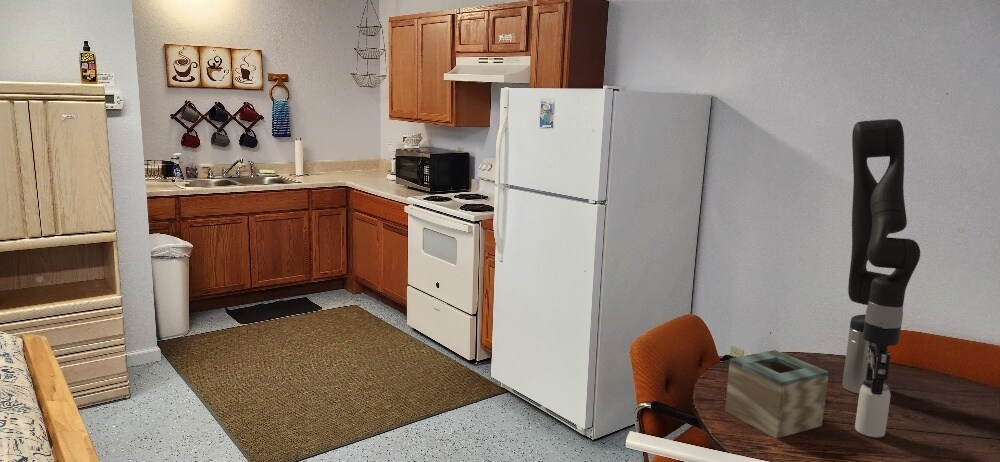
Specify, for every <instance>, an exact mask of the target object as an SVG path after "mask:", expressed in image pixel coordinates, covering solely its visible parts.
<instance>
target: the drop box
mask: <svg viewBox="0 0 1000 462" xmlns="http://www.w3.org/2000/svg"><path fill="white" fill-rule="evenodd" d="M829 374H830V372H829V370H826V369H823V368H821V367H818V366H816V365H813V364H811V363H809V362H806V361H804V360H801V359H798V358H796V357H793V356H791V355H788V354H786V353H785V352H784V353H783V352H781V351H778V350H777V349H774V350H768V351H762V352H757V353H752V354H746V355H741V356H738V357H732V358H729V366H728V375H727V376H728V377H727V384H726V385H727V387H726V395H725V397H726V398H725V407H724V412H726V413H728V414H729V415H731V416H734V417H735V418H737V419H739V420H741V421H743V422H745V424H748V425H750V426H752V427H754V428H756V429H757V430H759V431H761V432H763V433H765V434H767V435H768V436H770V437H772V438H774V439H776V440H777V439H780V438H783V437H788V436H790V435H794V434H797V433H800V432H805V431H809V430H812V429H813V430H814V429H816V428H820V427H823V421H824V420H823V419H824V414H825V413H824V412H825V404H826V396H827V390H828V381H829Z"/></svg>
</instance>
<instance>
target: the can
mask: <svg viewBox="0 0 1000 462" xmlns="http://www.w3.org/2000/svg"><path fill="white" fill-rule="evenodd" d="M871 387H872V381H864V382H863V385H862V386H861V388H860V393H859V394H858V401H857V410H856V415H855V416H856V417H855V422H854V423H855V424H854V429H855V430H856V432H857V433H859V435H860V434H861V435H863V436H864V437H869V438H873V439H874V438H875V439H879V438H880V439H881V438H882V437H884V436H885V435H886V429H887V425H888V424H887V423H888V418H889V409H890V404H891V403H890V402H891V390H890V386H889V385H888V384H886V383H884V384H883V390H882V394H881V395H876V394H872V393H871Z"/></svg>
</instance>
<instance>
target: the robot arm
mask: <svg viewBox="0 0 1000 462" xmlns="http://www.w3.org/2000/svg"><path fill="white" fill-rule="evenodd" d="M851 135H852V138H851V143H852V144H851V146H852V168H853V171H852V172H853V173H852V175H853V189H852V190H853V192H852V207H851V208H852V209H851V256H850V257H851V258H850V267H849V275H848V284H847V287H848V288H847V289H848V290H847V291H848V292H847V293H848V298H849V299H850V301H851V302H853V303H856V304H860V305H865V306H866V309H865V310H866V311H865V314H857V315H854V316H852V317H851V319H850V322H849V323H850V324H849V330H848V331H849V332H848V339H847V347H846V353H845V363H844V368H843V376H842V388H844V389H845V390H847V391H849V392H851V393H854V394H856V395H857V394H858V395H859V393H860V388H861V386H862V385H863V382H864V381H872V387H871V393H872V394H876V395H881V394H882V390H883V384H885V383H884V382H885V381H887V380H888V379H889V377H888V376H889V370H890V369H889V368H890V361H891V355H890V351H888V350H889V349H888V347H891V346H892V347H893V346H894V347H895V346H897V345H899V343H900V336H901V330H902V325H903V318H904V317H903V316H904V302H905V295H906V290H907V286H908V285H909V282H910V280H911V278H912V276H913V273H914V271H915V270H916V268H917V265H918V263H919V262H920V258H921V248H920V246H919V244H918V243H917V241H915V239H911V238H902V237H901V238H900V237H888V236H889V234H895V233H899V232H901V231H904V230H905V229H906V228H907V225H908V223H907V221H908V220H907V218H908V217H907V213H906V203H905V193H904V192H905V191H904V190H905V189H904V181H905V132H904V128H903V124H902V121H900V120H899V119H896V118H889V119H888V118H887V119H873V120H862V121H857V122H856V123H855V124H854V126H853V128H852V134H851ZM882 157H883V158H884V157H889V161H888V167H887V169H886V170H885V172H884V174H883V175H882V177H881V178H880V179H879V181H878V182H877V180H876V179H875V177H874V175H873V174H872V172H871V170H870V168H869V165H868V159H869V158H882ZM868 262H869V263H870V264H871V265H872V266H874V267H876V268H882V269H884V268H886V269H894V270H893V272H892V273H890V274H886V273H881V272H876V271H871V270H870V271H869V270H867V269H868V268H867V265H868Z"/></svg>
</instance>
